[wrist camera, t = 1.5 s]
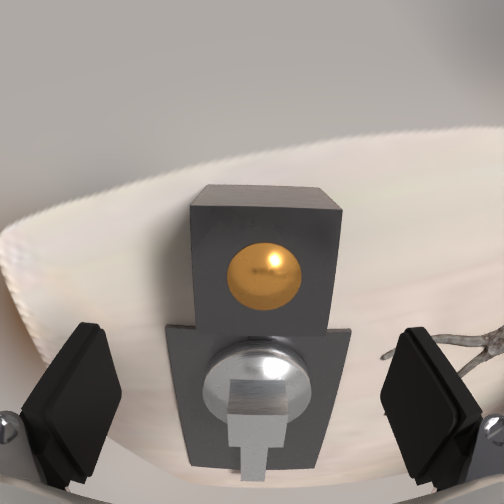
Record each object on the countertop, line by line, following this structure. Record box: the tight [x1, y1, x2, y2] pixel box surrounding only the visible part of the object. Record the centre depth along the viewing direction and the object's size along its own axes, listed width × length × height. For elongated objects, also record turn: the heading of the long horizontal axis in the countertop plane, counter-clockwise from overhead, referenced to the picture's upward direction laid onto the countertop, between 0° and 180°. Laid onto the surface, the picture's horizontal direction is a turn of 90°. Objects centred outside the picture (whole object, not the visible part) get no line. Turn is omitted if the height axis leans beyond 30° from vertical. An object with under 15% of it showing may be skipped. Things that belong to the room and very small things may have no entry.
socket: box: [190, 185, 343, 337], centre depth 19 cm, size 7×7×6 cm
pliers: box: [382, 325, 504, 416], centre depth 25 cm, size 10×1×20 cm
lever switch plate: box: [165, 325, 352, 481], centre depth 25 cm, size 14×20×6 cm
